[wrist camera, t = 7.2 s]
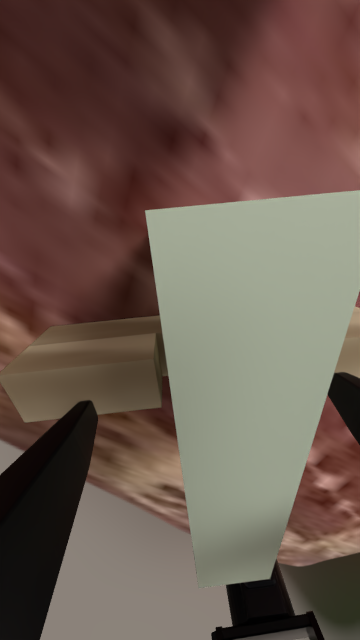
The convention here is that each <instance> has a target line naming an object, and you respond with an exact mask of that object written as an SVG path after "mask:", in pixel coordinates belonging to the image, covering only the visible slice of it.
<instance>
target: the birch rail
mask: <svg viewBox="0 0 360 640" xmlns="http://www.w3.org/2000/svg"><path fill="white" fill-rule="evenodd" d="M337 372H346V373H349V374H351V375H354V376H356V377H358V378H360V308H358V307H354V310H353V313H352V316H351V320H350V323H349V326H348V329H347V333H346V336H345V339H344V342H343V345H342V349H341V352H340V355H339V358H338V362H337V365H336V368H335V371H334V373H337ZM162 376H168V368H167V361H166V354H165V347H164V340H163V333H162V326H161V319H160V315H158V316H149V317H139V318H129V319H119V320H110V321H100V322H90V323H80V324H71V325H61V326H51V327H50V328H48V329H47V330H46V331H45V332H44V333H43V334H42V335H41V336H40V337H38V338H37V339H36V340H35V341H34V342H33V343H32V344H31V345H30V346H28V347H27V348H26V349H25V350H24V351H23V352H22V353H21V354H20V355H18V356H17V357H16V358H15V359H14V360H13V361H12V362H11V363H10V364H8V365H7V366H6V367H5V368H4V369H3V370H2V371H1V372H0V383H1V385H2V386H3V388H4V389H5V391H6V393H7V394H8V396H9V398H10V399H11V401H12V402H13V404H14V406H15V407H16V409H17V411H18V412H19V414H20V416H21V417H22V419H23V420H24V422H25V423H27V422H36V421H45V420H54V419H61V418H62V417H63V416H64V415H65V414H66V413H67V412H68V411H69V410H70V409H71V408H72V407H74V406H75V405H76V404H77V403H78V402H79V401H84V400H91V401H92V402H93V404H94V407H95V409H96V412H97V415H98V414H107V413H116V412H125V411H134V410H143V409H152V408H161V407H162Z"/></svg>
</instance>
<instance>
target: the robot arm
mask: <svg viewBox="0 0 360 640" xmlns="http://www.w3.org/2000/svg"><path fill="white" fill-rule="evenodd" d="M328 396H329V398H330V399H331V401H332V403H333V404H334V406H335V407H336V409H337V411H338V412H339V414H340V416H341V417H342V419H343V420H344V422H345V424H346V425H347V427H348V429H349V430H350V432H351V433H352V435H353V436H354V438H355V439H356V440H357V442H358V443H359V445H360V378H358V377H356V376H354V375H351V374H349V373H346V372H337V373H334V374H333V378H332V381H331V384H330V387H329V390H328ZM97 423H98V415H97V412H96V409H95V407H94V404H93V402H92V401H91V400H84V401H79V402H78V403H77V404H76V405H75V406H74V407H72V408H71V409H70V410H69V411H68V412H67V413H66V414H65V415H64V416H63V417H62V418H61V419H60V420H59V421H57V422H56V423H55V424H54V425H53V426H52V427H51V428H50V429H49V430H48V431H47V432H46V433H45V434H44V435H42V436H41V437H40V438H39V439H38V440H37V441H36V442H35V443H34V444H33V445H32V446H31V447H30V448H29V449H27V450H26V451H25V452H24V453H23V454H22V455H21V456H20V457H19V458H18V459H17V460H16V461H15V462H14V463H12V464H11V465H10V466H9V467H8V468H7V469H6V470H5V471H4V472H3V473H2V474H1V475H0V640H40V637H41V634H42V630H43V627H44V623H45V620H46V616H47V612H48V609H49V606H50V602H51V599H52V595H53V592H54V588H55V585H56V581H57V578H58V574H59V571H60V567H61V564H62V561H63V557H64V554H65V550H66V546H67V543H68V540H69V536H70V533H71V529H72V526H73V522H74V519H75V515H76V512H77V508H78V505H79V501H80V498H81V494H82V491H83V487H84V484H85V481H86V477H87V473H88V470H89V466H90V461H91V456H92V450H93V445H94V439H95V434H96V429H97ZM226 588H227V595H228V601H229V607H230V613H231V619H232V625H233V626H232V627H226V628H222V627H216V631H214V632H212V634H211V636H212V640H294V639H300V638H306V637H309V639H310V640H324V637H323V635H322V632H321V630H320V628H319V625H318V623H317V620H316V618H315V615H314V613H313V611H308V612H306V614H302V615H296V616H295V613H294V610H293V607H292V604H291V601H290V598H289V595H288V592H287V589H286V586H285V583H284V579H283V576H282V573H281V570H280V567H279V565H278V561H277V558H276V561H275V564H274V568H273V571H272V574H271V577H270V579H265V580H258V581H250V582H242V583H235V584H227V585H226Z"/></svg>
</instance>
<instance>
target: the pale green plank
mask: <svg viewBox="0 0 360 640" xmlns="http://www.w3.org/2000/svg"><path fill="white" fill-rule="evenodd" d="M145 213H146V220H147V227H148V234H149V241H150V248H151V255H152V263H153V270H154V277H155V284H156V291H157V298H158V305H159V312H160V319H161V326H162V333H163V340H164V347H165V354H166V361H167V368H168V376H169V383H170V390H171V397H172V404H173V411H174V418H175V425H176V432H177V439H178V446H179V453H180V460H181V467H182V474H183V481H184V488H185V496H186V503H187V510H188V517H189V524H190V531H191V538H192V544H193V552H194V559H195V566H196V573H197V580H198V587H199V588H204V587H211V586H219V585H227V584H235V583H242V582H250V581H258V580H265V579H270V577H271V574H272V571H273V568H274V564H275V561H276V558H277V555H278V551H279V548H280V545H281V542H282V539H283V535H284V532H285V529H286V526H287V522H288V519H289V516H290V513H291V510H292V506H293V503H294V500H295V497H296V493H297V490H298V487H299V484H300V481H301V477H302V474H303V471H304V468H305V465H306V461H307V458H308V455H309V452H310V448H311V445H312V442H313V439H314V436H315V432H316V429H317V426H318V423H319V419H320V416H321V413H322V410H323V407H324V403H325V400H326V397H327V394H328V390H329V387H330V384H331V381H332V378H333V374H334V371H335V368H336V365H337V362H338V358H339V355H340V352H341V349H342V345H343V342H344V339H345V336H346V333H347V329H348V326H349V323H350V320H351V316H352V313H353V310H354V307H355V304H356V300H357V297H358V294H359V291H360V190H358V191H347V192H337V193H326V194H315V195H305V196H294V197H283V198H273V199H262V200H252V201H241V202H230V203H220V204H209V205H198V206H188V207H177V208H167V209H156V210H145Z"/></svg>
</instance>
